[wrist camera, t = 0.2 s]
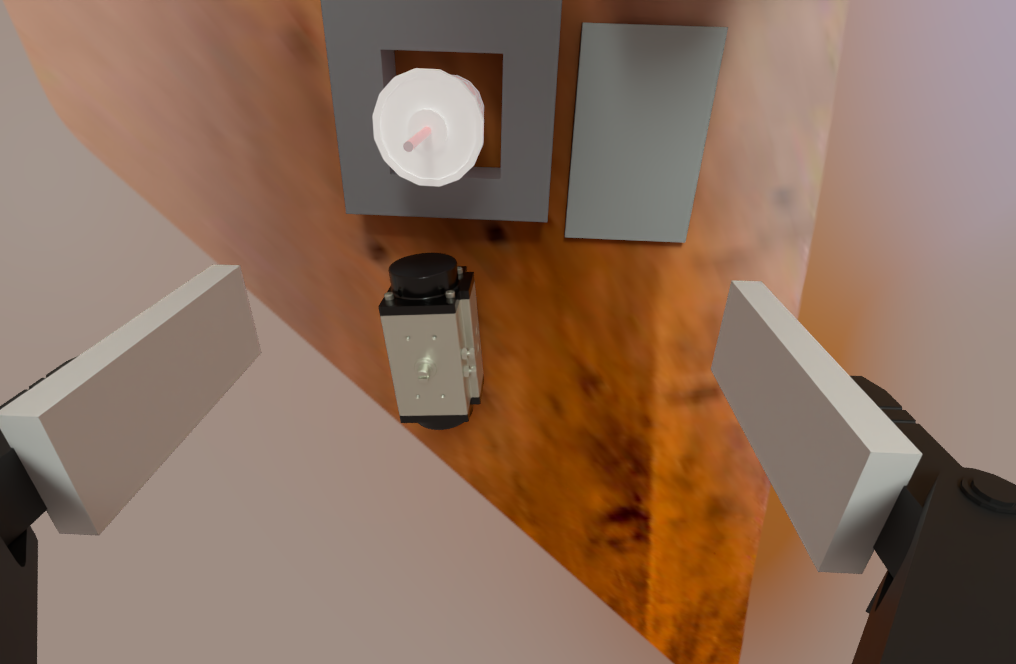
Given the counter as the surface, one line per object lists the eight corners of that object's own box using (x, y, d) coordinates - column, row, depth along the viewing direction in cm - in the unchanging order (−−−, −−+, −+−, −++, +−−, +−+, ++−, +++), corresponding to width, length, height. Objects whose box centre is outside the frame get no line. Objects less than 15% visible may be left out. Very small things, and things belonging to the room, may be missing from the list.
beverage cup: (440, 172, 39) (395, 234, 27) (389, 94, 36) (314, 122, 24) (512, 127, 37) (499, 171, 25) (463, 41, 35) (423, 43, 22)
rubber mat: (582, 22, 34) (582, 22, 33) (725, 27, 34) (727, 27, 33) (564, 234, 41) (565, 237, 40) (683, 240, 40) (685, 242, 40)
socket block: (339, -3, 34) (319, -8, 31) (559, 3, 33) (561, 0, 30) (360, 200, 40) (346, 213, 37) (546, 208, 40) (547, 222, 37)
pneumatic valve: (431, 357, 47) (400, 450, 36) (411, 228, 41) (368, 293, 30) (494, 356, 46) (481, 449, 36) (483, 224, 41) (464, 289, 30)
